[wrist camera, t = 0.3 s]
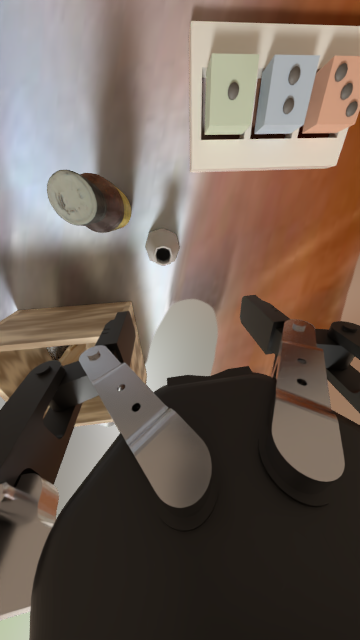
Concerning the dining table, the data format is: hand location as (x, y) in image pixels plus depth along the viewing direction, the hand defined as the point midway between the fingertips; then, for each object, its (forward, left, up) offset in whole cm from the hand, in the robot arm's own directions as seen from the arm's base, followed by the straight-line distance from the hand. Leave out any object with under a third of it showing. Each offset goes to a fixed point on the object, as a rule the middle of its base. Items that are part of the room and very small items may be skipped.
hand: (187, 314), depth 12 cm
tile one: (-20, +10, -26) cm, 34 cm away
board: (-20, +18, -28) cm, 39 cm away
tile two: (-20, +18, -26) cm, 37 cm away
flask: (-1, -1, -29) cm, 29 cm away
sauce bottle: (-8, -9, -29) cm, 31 cm away
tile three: (-20, +26, -26) cm, 42 cm away
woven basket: (+24, -23, -28) cm, 44 cm away
